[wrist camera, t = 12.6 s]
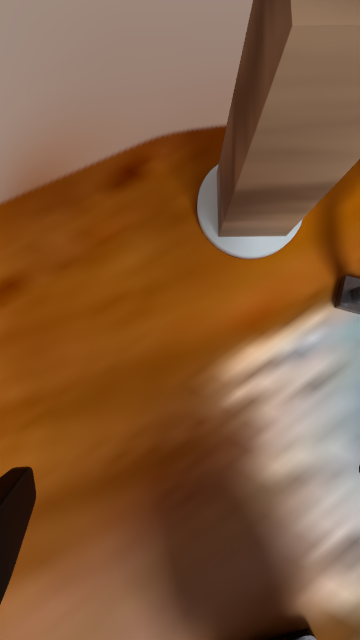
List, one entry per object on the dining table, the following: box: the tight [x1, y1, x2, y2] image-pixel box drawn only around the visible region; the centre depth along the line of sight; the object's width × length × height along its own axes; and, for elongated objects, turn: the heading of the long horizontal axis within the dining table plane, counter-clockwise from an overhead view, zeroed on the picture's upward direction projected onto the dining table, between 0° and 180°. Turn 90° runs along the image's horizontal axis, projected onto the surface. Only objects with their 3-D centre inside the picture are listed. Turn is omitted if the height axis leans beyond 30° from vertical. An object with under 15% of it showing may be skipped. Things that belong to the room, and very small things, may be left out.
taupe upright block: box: [217, 0, 360, 237], centre depth 13 cm, size 5×5×13 cm
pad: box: [197, 165, 302, 259], centre depth 20 cm, size 8×8×1 cm
